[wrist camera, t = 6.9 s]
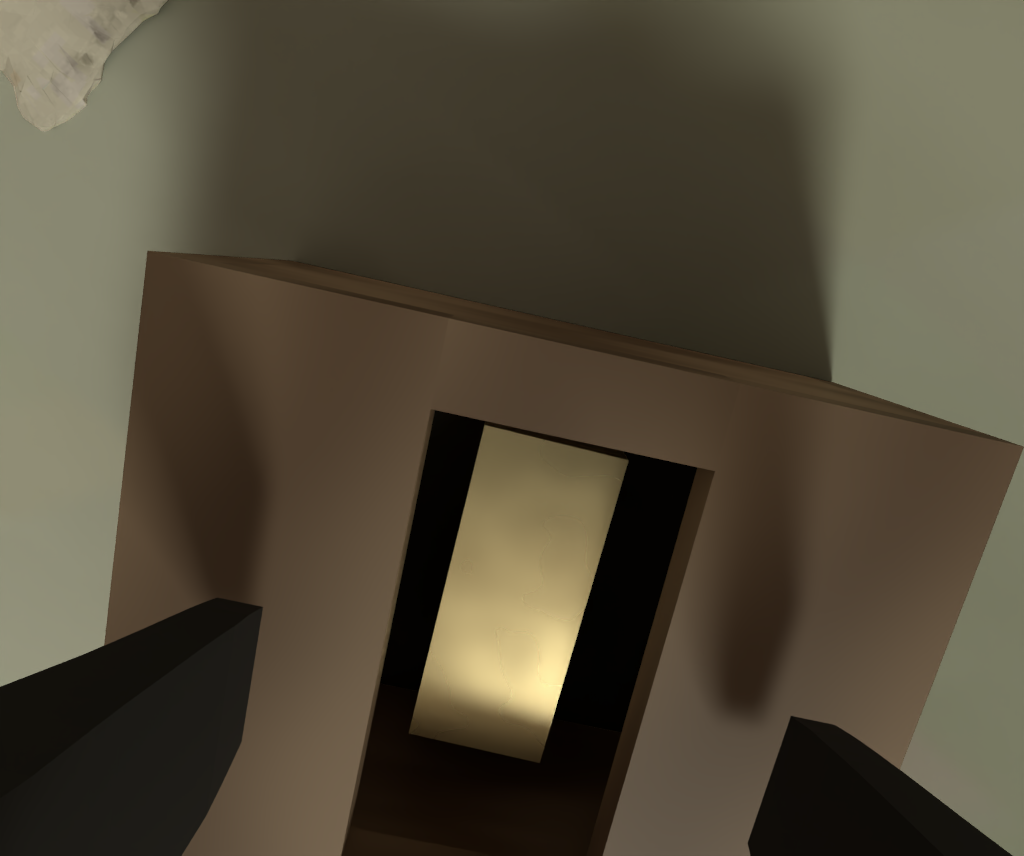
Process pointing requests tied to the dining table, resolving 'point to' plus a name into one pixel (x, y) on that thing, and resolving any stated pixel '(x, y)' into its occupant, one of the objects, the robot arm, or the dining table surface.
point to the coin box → (386, 529)
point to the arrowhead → (62, 50)
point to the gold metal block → (516, 589)
